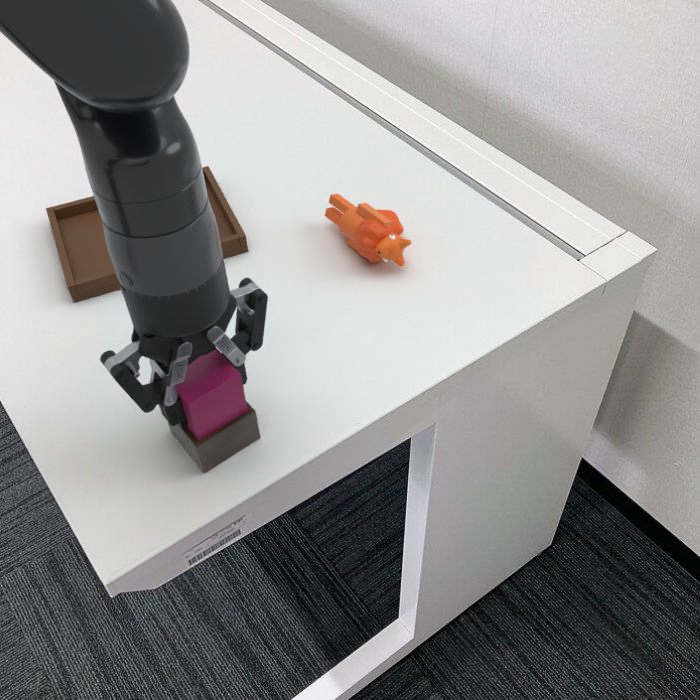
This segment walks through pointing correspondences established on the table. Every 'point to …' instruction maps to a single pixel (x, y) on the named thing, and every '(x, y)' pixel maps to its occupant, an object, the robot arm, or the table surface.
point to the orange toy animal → (369, 230)
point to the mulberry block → (211, 394)
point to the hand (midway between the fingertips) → (206, 403)
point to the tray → (91, 250)
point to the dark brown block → (219, 440)
